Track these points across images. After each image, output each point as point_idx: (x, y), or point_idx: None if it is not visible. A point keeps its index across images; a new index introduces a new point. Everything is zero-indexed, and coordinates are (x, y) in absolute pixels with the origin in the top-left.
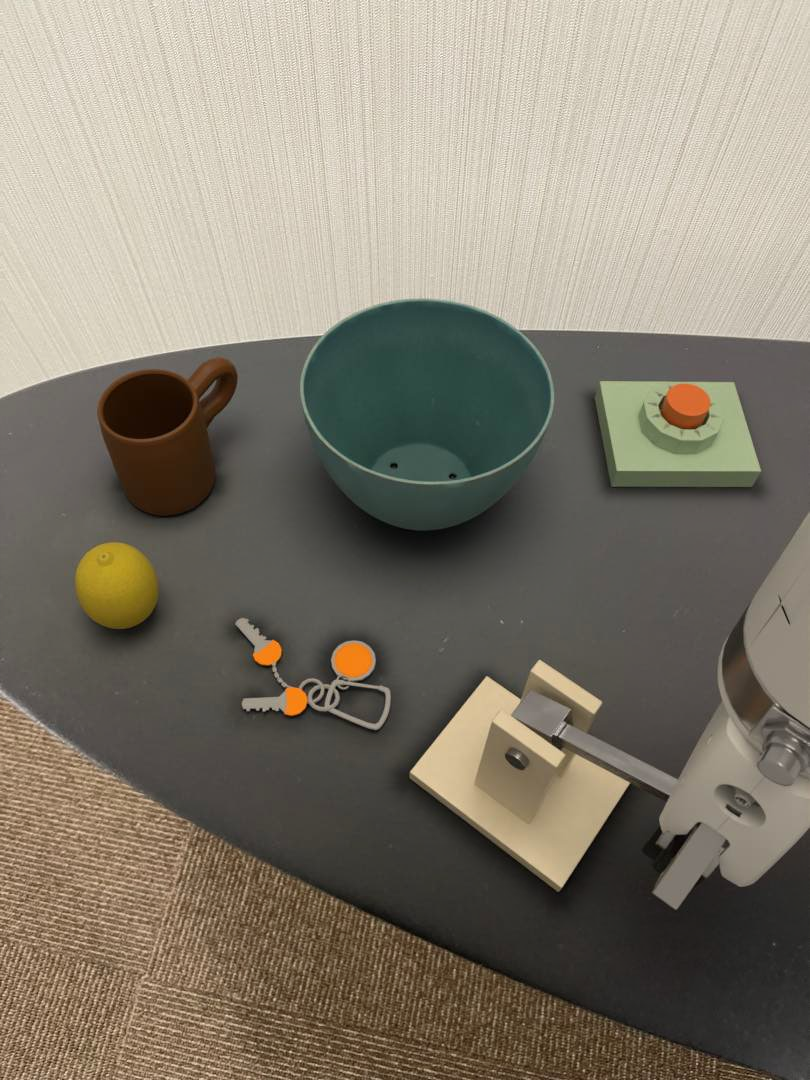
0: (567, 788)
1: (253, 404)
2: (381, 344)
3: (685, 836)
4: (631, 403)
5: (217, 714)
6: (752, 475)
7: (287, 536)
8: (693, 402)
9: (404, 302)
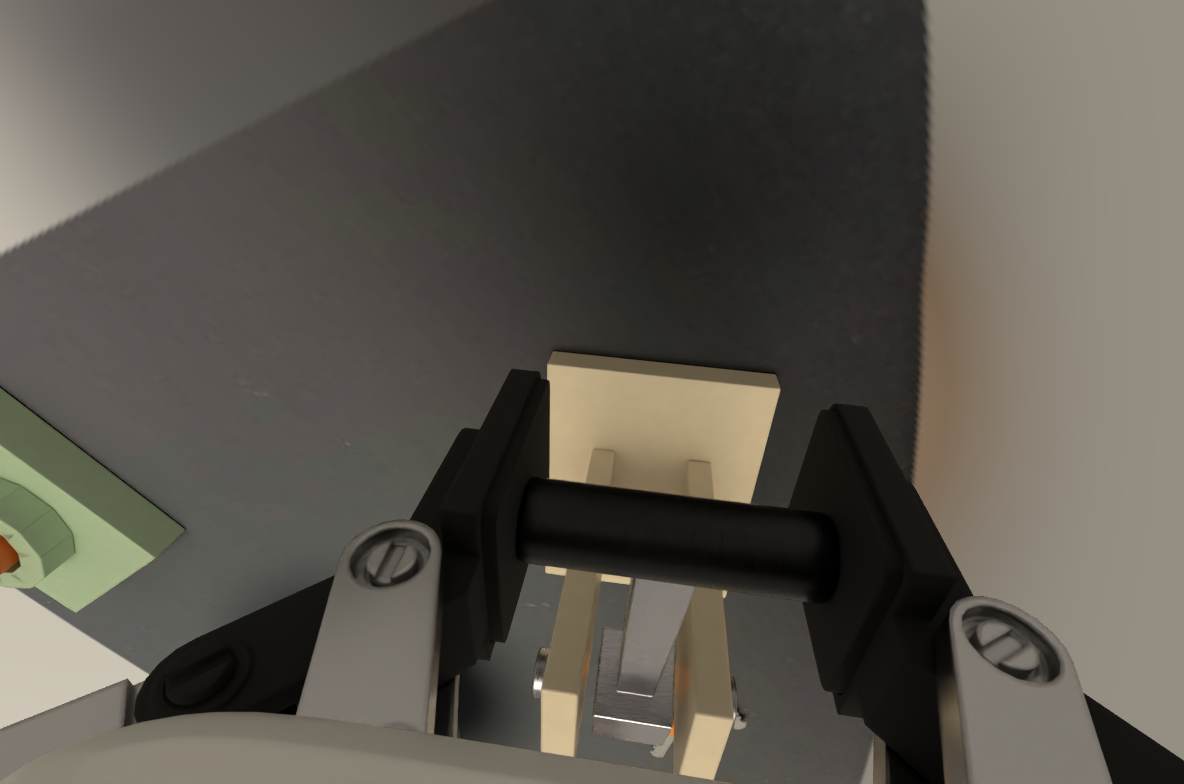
0: (626, 437)
1: None
2: None
3: (922, 749)
4: (57, 575)
5: (762, 732)
6: None
7: (539, 746)
8: None
9: None
